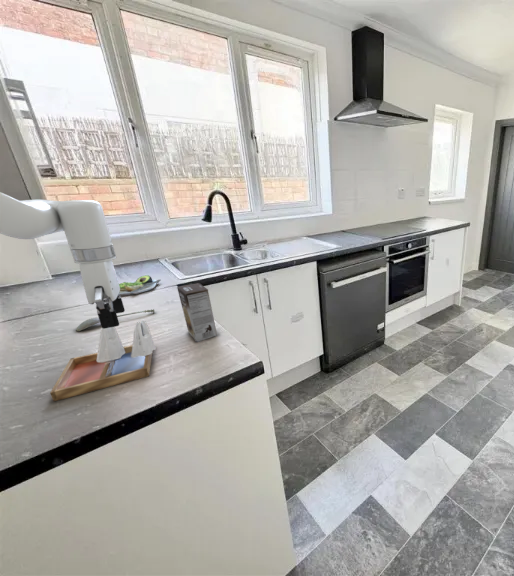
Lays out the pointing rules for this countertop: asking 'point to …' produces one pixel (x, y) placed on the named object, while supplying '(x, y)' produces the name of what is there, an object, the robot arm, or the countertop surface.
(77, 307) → the countertop surface
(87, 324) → the soupspoon
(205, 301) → the coffee box
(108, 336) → the shaker set
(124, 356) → the sorting tray
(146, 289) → the avocado toast plate
